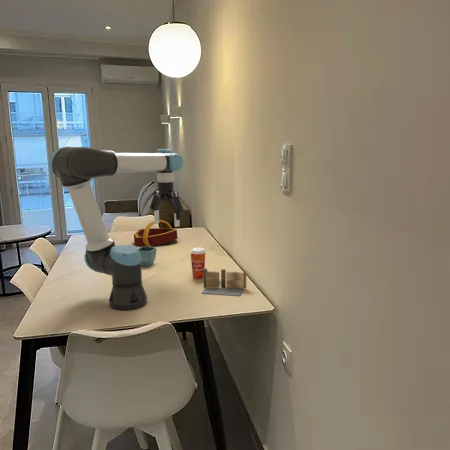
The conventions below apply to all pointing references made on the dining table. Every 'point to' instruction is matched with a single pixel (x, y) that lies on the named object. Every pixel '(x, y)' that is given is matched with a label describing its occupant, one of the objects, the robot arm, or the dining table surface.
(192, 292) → the dining table surface
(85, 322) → the dining table surface
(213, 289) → the board
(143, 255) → the flower pot
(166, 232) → the decorative basket
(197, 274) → the paper cup
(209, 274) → the fixed fence panel and posts
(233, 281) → the hinged fence panel
